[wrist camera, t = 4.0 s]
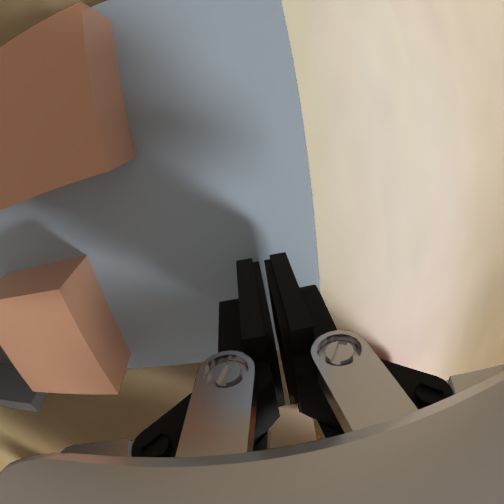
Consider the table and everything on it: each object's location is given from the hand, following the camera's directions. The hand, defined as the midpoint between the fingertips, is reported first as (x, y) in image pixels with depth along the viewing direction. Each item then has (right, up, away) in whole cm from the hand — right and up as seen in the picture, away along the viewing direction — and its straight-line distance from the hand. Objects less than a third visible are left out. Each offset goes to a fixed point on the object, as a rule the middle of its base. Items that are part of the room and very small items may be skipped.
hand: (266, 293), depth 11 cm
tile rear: (-9, -1, +1) cm, 9 cm away
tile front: (-7, +6, -2) cm, 10 cm away
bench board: (-7, +4, +1) cm, 8 cm away
